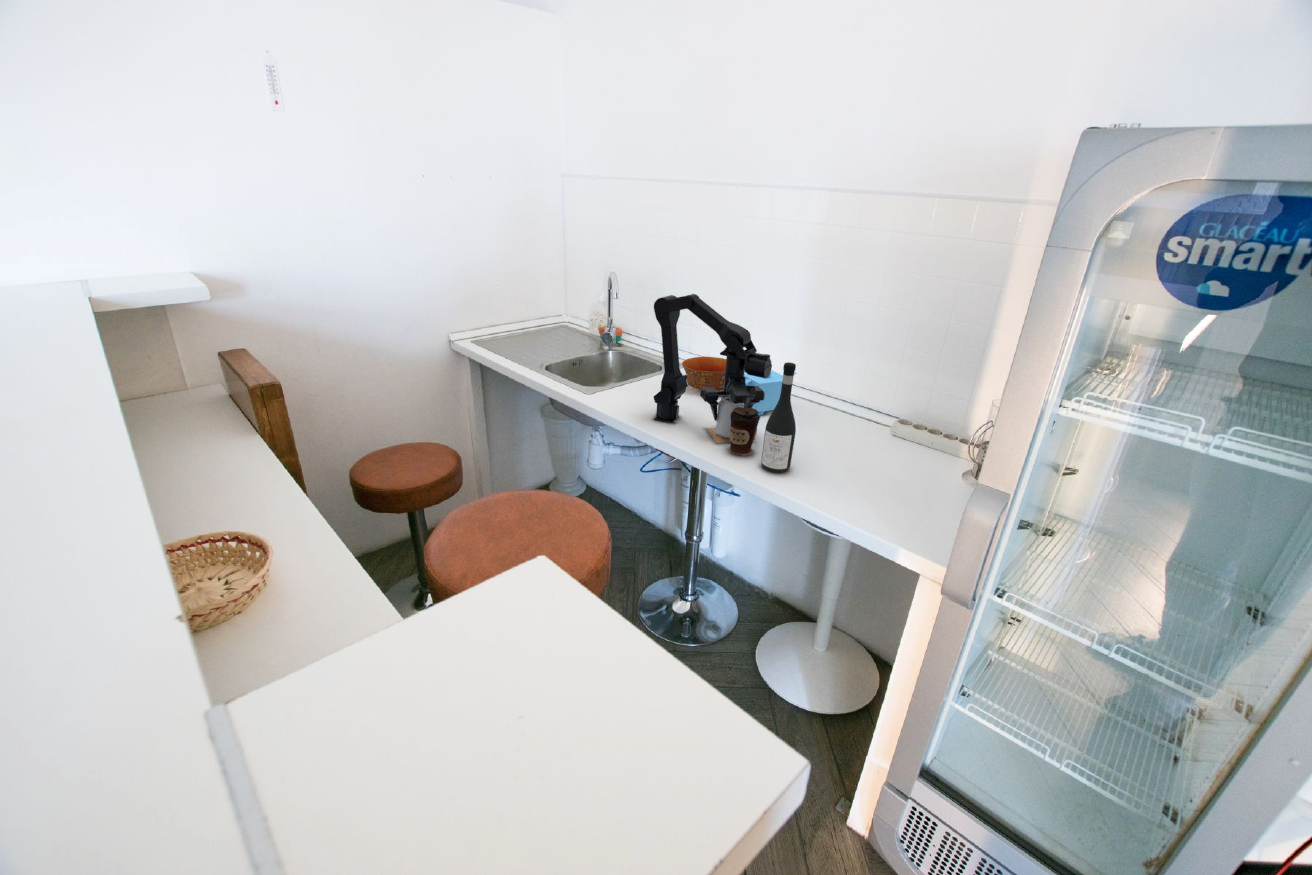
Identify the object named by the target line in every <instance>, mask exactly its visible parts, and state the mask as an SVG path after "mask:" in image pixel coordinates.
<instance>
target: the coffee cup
mask: <svg viewBox="0 0 1312 875" xmlns="http://www.w3.org/2000/svg"><path fill="white" fill-rule="evenodd" d="M758 413H759V412H758V411H757V410H756V409H753V408H747V407H744V406H743V407H736V408H734V409H733V412H732V413H731V415H730V419H731V425H730V441H731V443H730V447H729V451H730V452H731V453H732V454H734V455H737V456H750V455H752V453H753V450H752V446H753V443H754V441H755V440H756V435H757V432H758V426H759V422H760V420H761V415H758Z"/></svg>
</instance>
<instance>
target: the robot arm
mask: <svg viewBox="0 0 1312 875" xmlns="http://www.w3.org/2000/svg"><path fill="white" fill-rule="evenodd" d="M683 310H688V311H689V312H690V313H691V314H693V315H694V316H696V317H697V319H699V320H700V321H701V322H702V323H704V324H705V325H706V326H708V327H709V328H710V329H712V331H714V332H715V333H716V334H717V335H718V337H719V339H720V341H721V342H722V343H723V345H724V346H725V347H724V349H723V350H722V351H721V352H719V355H720V356H724V357H726V358H725V359H726V368H725V372H724V376H725V379H724V385H723V387H722V388H723V390H721V391H716V389H715V388H714V387H703V388H702V389H701V390H700V392H699V394H700V395H699V396H700V397H701V399H702V400H703V401H704V402H705V403H707V404H708V405H710V409H711V413H712V416H713V420H714V421H715V422H717V413H718V404H719V401H718V400H719V398H722V397H731V400H732V402H733V403H735V404H737V403H744V404H743V407H747V408H752V407H753V405H754V404H756V403H759V402H760V400H764V398H765V393H764V391H763V390H762V389H761V388H760V387H759V386H746V383H745V377H744V373H747V374H748V375H751V376H756V377H761V378H765V379H767V378H768V377H769V375H770V372H771V371H772V368H773V364H772V360H771V354H768V353H760V352H758V349H757V348H756V346H755V344H754V342H753V341H752V337H751V332H750V331H749V330H748V329H747V328H745V327H743V326H741V325H740V324H738V323H735V322H732V321H729V320H727V318H725V317H724V316H722V315H721V314H720V313H719V312H718V311H716V310H715V309H714V308H713V307H711V306H710V305H709V304H707V302H705V301H704V300H703V299H701V298H700V296H699V295H697V294H696V293H691V294H687V295H682V296H676V295H673V294H670V295H666V296H662V297H659V298H657V299H656V300H655V301H654V302H653V311H654V315H655V319H656V321H657V322H658V324H659V326H660V331H661V344H662V357H663V368H664V370H663V371H664V372H663V375H662V378H661V382H660V390H659V391H658V392H657V393H656V394H654V395H653V401H654V403H655V404H656V416H655V417H654V420H655V421H660V422H667V423H671V424H672V423H674V422H675V421H676V420H677V419H678V418H679V416H680V404H679V400H680V399H681V397H682V396H683V395H684V394H685V393H686V392H687V388H688V387H689V385H688V383H687V375H686V374H683V373H682V371H681V369H680V355H679V342H678V328H677V325H678V321H679V319H680V317H681V316H680V315H681V311H683ZM744 348H745V349H744Z"/></svg>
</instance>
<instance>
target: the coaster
mask: <svg viewBox="0 0 1312 875" xmlns="http://www.w3.org/2000/svg"><path fill="white" fill-rule="evenodd" d="M706 431H707V433H708V434H709V435H710V436H711V438H712V439H713V440H714V443H715V444H731V441H730V438H723V437H720V436H719V435H718V434H717V433H716V427H711V428H710V427H709V428H707V427H706Z"/></svg>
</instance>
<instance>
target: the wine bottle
mask: <svg viewBox="0 0 1312 875" xmlns="http://www.w3.org/2000/svg"><path fill="white" fill-rule="evenodd" d="M782 368H783V372H782V375H783V380H782V387H781V394H780V398H779V401H778V403H777V405H776V407H775V408H774V410H773V412H772V411H771V413H770V415H769V417H768V419H767V422H766V425H765V429H764V436H763V444H762V452H761V461H760V463H761V466H762V468H763V469H765V470H766V471H769V472H771V473H785V472H787V471H788V470H790V468H791V464H792V459H793V451H794V445H795V438H796V432H797V431H796V430H797V428H796V427H797V426H796V418H795V415H794V412H793V408H792V400H791V397H792V389H793V382H794V377H795V375H794V372H795V371H796V368H797V364H796V363H795V362H789V361H788V362H784V363H783V367H782Z"/></svg>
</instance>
